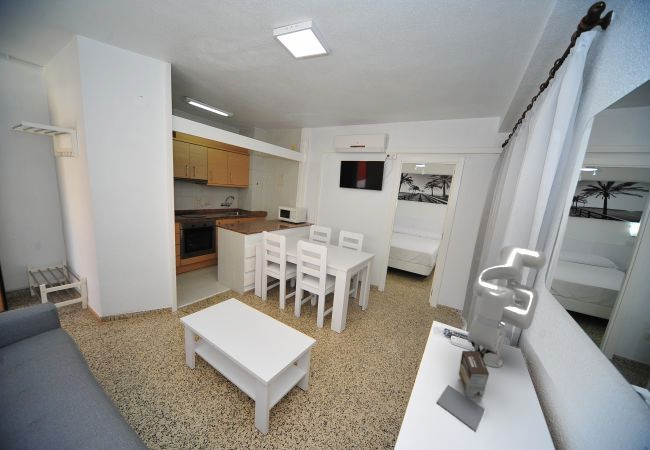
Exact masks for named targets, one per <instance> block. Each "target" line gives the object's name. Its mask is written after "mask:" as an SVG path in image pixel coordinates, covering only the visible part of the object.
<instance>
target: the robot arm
mask: <svg viewBox="0 0 650 450" xmlns="http://www.w3.org/2000/svg"><path fill="white" fill-rule="evenodd" d="M546 262H547V255H546V253H545V252H543V251H541V250H537V249H532V248H527V247H522V246H519V245H506V246H503V247H502V248H501V250H500V251H499V260H498V262H497V264H496V265H493V266H490V267H488V268H485V269H484V270H482V271H481V272H480V273H479V274H478V276H477V277H476V279H475V281H474V284H473V287H472V292H473V294H474V295H475V297H478V298H480V303H479V306H478V311H477V314H476V315H475V316H474V318H473V320H472V322H471V324H470V327H469V330H468V333H467V337H466V341H467V342H468V343H470V344H471V345H472V350H471V351H480V354H481V356H482V358H483V361H484V363H485V365H486V366H489V367H492V368H501V367H502V366H503V359H502V358H501V354H502V351H503V346H504V345H505V344H504V343H505V340H506V336H507V326H506V324H508V325H510V326H513V327H515V328H517V329H521V330H528V329H529V328H530V327H531V326H532V323H533V319H534V317H535V313H536V310H537V305H538V303H539V302H538V301H539V293H538V291H537V290H536V289H535V288H533V287H531V286H528V285H525V284H522V283H521V282H522V280H523V275H522V274H523V273H521V272H522V268H523V267H525V268H529V269H533V270H537V271H540V270H542V269H544V267H545V265H546V264H547V263H546ZM490 280H497V282H496V283H493V282H490ZM473 347H474V348H473Z"/></svg>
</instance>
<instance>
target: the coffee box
mask: <svg viewBox="0 0 650 450" xmlns="http://www.w3.org/2000/svg"><path fill="white" fill-rule="evenodd" d="M459 364H460V365H459V368H458V369H459V370H458V376H459V380H460V383H461V386H462V389H463V393H464V395H465V396H466V397H468V398H477V399H478V398H479V399H483V398H484V395H485V391H486V387H487V382H488V379H489V376H490V373H489V371H488V367H487V365H486V364H485V363H484V361H483V358H482V356H481V354H480V351H472V350H462V353H461V358H460V363H459Z"/></svg>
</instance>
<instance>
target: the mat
mask: <svg viewBox="0 0 650 450" xmlns="http://www.w3.org/2000/svg"><path fill="white" fill-rule="evenodd" d="M436 404H437V405H438V406H440V407H441V408H442V409H444V410H445V411H446V412H448V413H449V414H450V415H452V416H453V417H454V418H456V419H457V420H459V421H460V422H462V424H464V425H465V426H467V427H468V428H470V430H472V431H473V432H475V433H476V432H477V428H478V426H479V424H480V422H481V419H482V417H483V415H484V412H485V407H483V406H482V405H480V404H478V403H477V402H475V401H474V400H473V399H470V397H466V395H465V394H463V393H462V392H460V391H458V390H457V389H455V388H454V387H453V386H452V385H449V384H448V385H447V386H446V387H445V389H444V390H443V392H442V393H441V395H440V397H439V398H438V399H437V401H436Z"/></svg>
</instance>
